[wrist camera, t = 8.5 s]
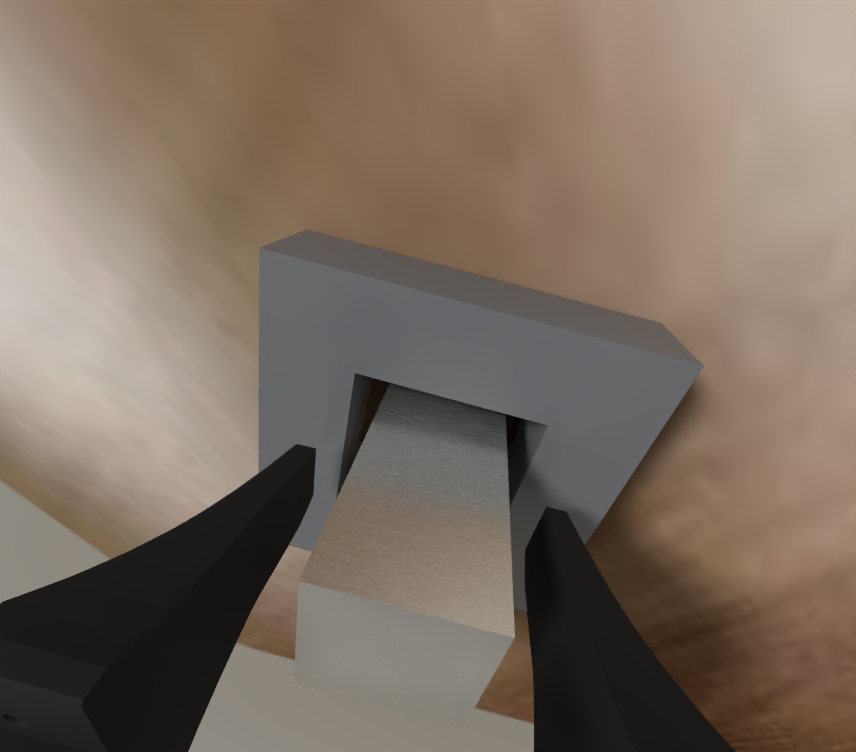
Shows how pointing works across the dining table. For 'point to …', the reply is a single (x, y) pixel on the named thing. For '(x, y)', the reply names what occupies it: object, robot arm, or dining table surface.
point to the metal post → (414, 563)
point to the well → (459, 374)
